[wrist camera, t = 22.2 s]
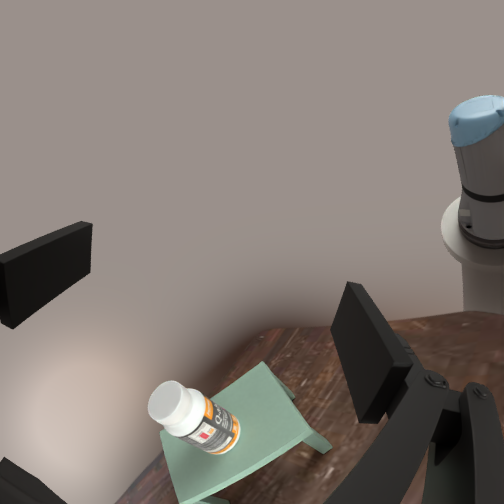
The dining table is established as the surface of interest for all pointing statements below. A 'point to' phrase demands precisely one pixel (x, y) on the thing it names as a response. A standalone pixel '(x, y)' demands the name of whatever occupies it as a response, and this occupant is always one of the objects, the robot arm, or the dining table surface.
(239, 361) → the dining table surface
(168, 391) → the pill bottle
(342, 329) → the robot arm
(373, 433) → the dining table surface
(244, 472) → the shelf
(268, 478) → the dining table surface
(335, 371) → the dining table surface
